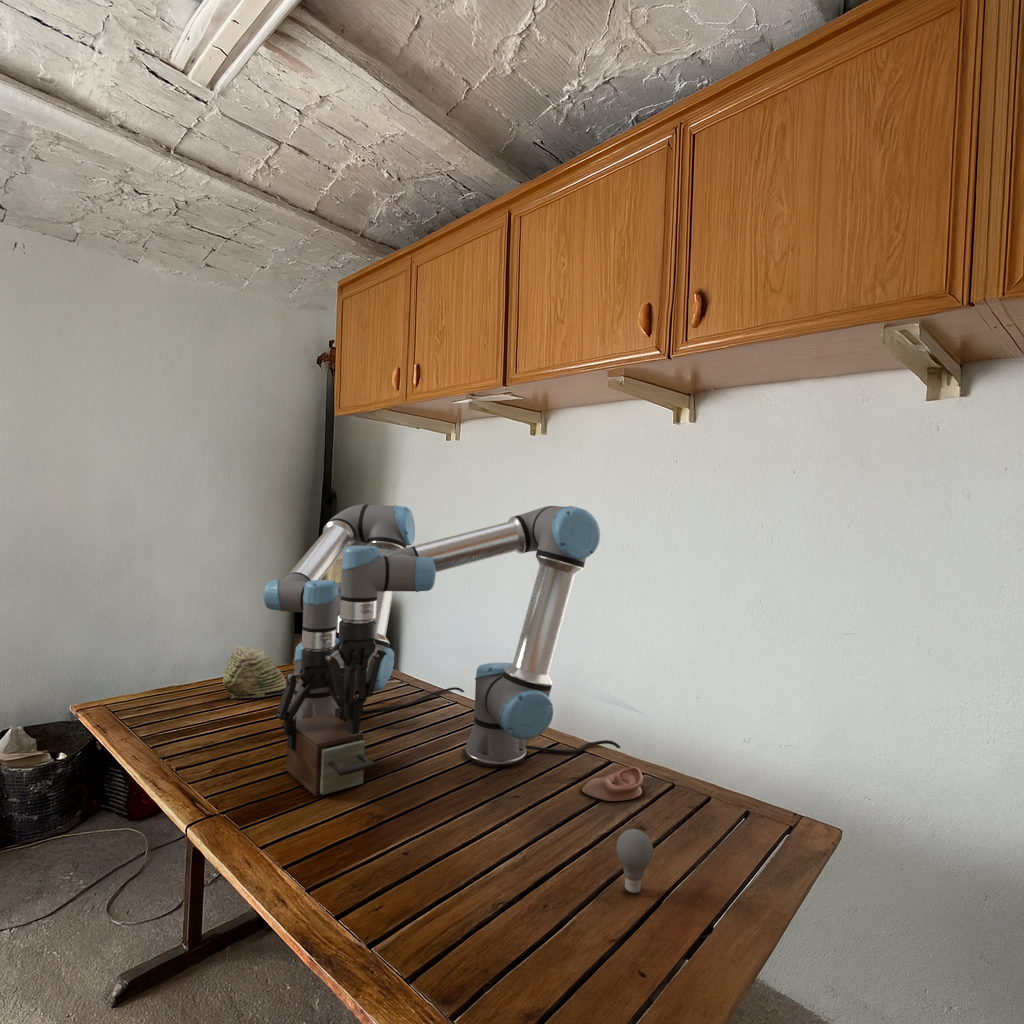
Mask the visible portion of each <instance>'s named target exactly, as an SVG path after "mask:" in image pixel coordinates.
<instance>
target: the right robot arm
mask: <svg viewBox="0 0 1024 1024" xmlns="http://www.w3.org/2000/svg"><path fill="white" fill-rule="evenodd" d="M600 542H601V529H600V526H599V523H598V521H597V520H596V518H595V516H594V515H593V514H592V513H590V511H588V510H586V509H583V508H581V507H577V506H572V505H568V506H559V505H548V506H543V507H539V508H536V509H533V510H531V511H527V512H525V513H521V514H517V515H514V516H510V517H509V519H508V521H505V522H502V523H499V524H494V525H490V526H487V527H483V528H479V529H475V530H471V531H466V532H463V533H459V534H455V535H451V536H447V537H442V538H438V539H435V540H432V541H431V540H430V541H427V542H423V543H419V544H416V545H413V546H412V545H411V546H406V548H403V549H399V550H396V549H392V550H387V551H385V552H383V553H382V554H381V555H380V553H379V548H378V547H374V546H366V545H352V546H348V547H346V548H345V549H344V550H343V552H342V562H341V566H340V569H341V570H340V571H341V573H340V575H341V576H340V582H341V598H340V615H339V616H338V617H339V619H340V621H339V622H338V639H339V643H338V645H337V648H336V651H335V652H334V653H333V654H332V655H327V656H326V657H325V660H326V661H327V663H328V664H329V666H330V671H331V676H332V682H333V687H334V692H335V697H336V698H337V699H338V700H340V701H342V702H344V717H346V723H347V727H346V731H348V732H349V733H351V734H352V735H353V734H358V733H359V731H360V719H361V718H360V717H361V716H363V715H364V713H363V710H364V705H365V703H366V702H367V700H368V698H370V697H373V696H374V695H373V694H374V692H375V691H374V687H375V684H376V680H377V676H378V672H379V668H380V664H381V661H382V659H383V658H384V656H385V654H386V652H385V651H383V650H381V649H379V648H377V647H376V643H375V640H374V638H375V634H376V622H375V621H374V620H373V619H375V618H376V610H377V594H378V591H382V592H385V591H393V592H415V593H419V592H429V591H431V590H432V589H433V588H434V586H435V584H436V583H435V582H436V574H437V573H441V572H443V571H446V570H447V571H448V570H451V569H455V568H458V567H461V566H466V565H470V564H473V563H477V562H481V561H484V560H489V559H493V558H495V557H499V556H503V555H507V554H510V553H514V552H516V553H517V554H520V555H523V554H526V553H530V552H536V553H535V559H536V560H537V562H538V564H539V566H538V570H537V572H536V573H537V574H536V577H535V581H534V585H533V588H532V592H531V596H530V599H529V603H528V607H527V611H526V614H525V618H524V621H523V625H522V628H521V631H520V635H519V640H518V643H517V647H516V650H515V653H514V654H515V655H514V658H513V662H489V663H488V662H487V663H483V664H480V665H479V666H477V668H476V672H475V678H474V680H475V685H474V686H475V689H474V693H475V694H474V714H473V716H474V717H473V720H474V721H473V726H472V728H471V731H470V734H469V736H468V739H467V742H466V745H465V757H466V759H468V760H469V761H470V762H471V763H473V764H476V765H480V766H482V767H487V768H508V767H513V766H516V765H519V764H520V763H523V762H524V761H525V759H526V758H527V750H533V751H540V752H547V753H554V754H565V755H567V754H568V755H569V754H577V753H580V752H582V751H583V750H585V749H586V748H588V747H592V746H597V745H598V746H599V745H606V744H607V745H611V746H614V747H615V748H616V749H621V748H622V746H621V745H619V744H618V743H617V742H616V741H613V740H608V739H604V740H596V741H591V742H587V743H584V744H583V745H582V746H580V747H578V748H575V749H557V748H548V747H541V746H535V745H528V744H526V743H525V742H526V741H527V740H532V739H535V738H537V737H538V736H540V735H542V734H543V733H545V731H546V730H547V729H548V728H549V727H550V725H551V723H552V720H553V717H554V705H553V703H552V700H551V698H550V694H551V690H552V686H553V681H552V679H551V677H550V675H549V674H550V673H549V672H550V669H551V665H552V662H553V657H554V653H555V650H556V647H557V642H558V639H559V635H560V631H561V628H562V624H563V620H564V617H565V613H566V609H567V606H568V603H569V598H570V595H571V592H572V591H571V590H572V587H573V583H574V578H575V576H576V574H578V573H579V572H581V571H583V570H584V568H585V564H586V560H587V558H589V557H590V556H591V555H592V554H594V553H595V552H596V551H597V549H598V547H599V544H600ZM371 655H372V657H371V660H370V663H369V667H368V659H369V658H370V656H371ZM339 657H341V659H342V660H343V661H344V669H345V671H344V685H343V679H342V674H341V669H340V665H339V662H340V659H339ZM367 668H368V671H367V675H366V669H367ZM355 670H356V674H355ZM354 686H355V689H354ZM525 740H526V741H525Z"/></svg>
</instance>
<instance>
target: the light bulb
mask: <svg viewBox="0 0 1024 1024" xmlns="http://www.w3.org/2000/svg"><path fill="white" fill-rule="evenodd" d="M615 849H616V854H617V857H618V859H619V861H620V863H621V865H622V867H623V873H624V874H623V875H624V876H625V878H624V888H625V890H627V891H628V892H630V893H634V894H635V893H639V892H640V891H641V889H642V887H641V886H642V879H643V877H644V875H645V871H646V868H647V867H648V866H649V864H650V863H651V861H652V859H653V855H654V847H653V843H652V841H651V838H649V836H648V835H647V834H646V833H645V832H643V831H642V830H641V829H636V828H629V829H627V830H625V831H623V832H622V833H621V834H620V835H619V837H618V839H617V841H616V847H615Z"/></svg>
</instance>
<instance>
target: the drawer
mask: <svg viewBox="0 0 1024 1024" xmlns="http://www.w3.org/2000/svg"><path fill="white" fill-rule="evenodd" d="M355 741H356V740H352V741H348V742H343V743H339V744H335V745H331V746H326V747H322V750H321V776H320V793H321V794H322V795H321V796H325V795H327V794H331V793H334V792H338V791H342V790H345V789H349V788H352V787H355V786H359V785H362V784H364V774H365V773H364V772H365V770H368V769H371V768H374V767H375V762H374V760H369V759H367V758H366V757H365V749H366V748H365V747H366V741H365V740H364V739H363V740H360V741H356V742H355Z"/></svg>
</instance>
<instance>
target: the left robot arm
mask: <svg viewBox="0 0 1024 1024" xmlns="http://www.w3.org/2000/svg"><path fill="white" fill-rule="evenodd" d="M415 538H416V524H415V519H414V515H413V512H412V510H411V509H410V508H409V507H407V506H401V505H397V504H394V505H383V504H367V503H365V504H364V503H360V504H355V505H352V506H349V507H347V508H345V509H343V510H341V511H340V512H338V513H337V514H335V515H334V516H332V518H330V519H329V521H327V523H326V524H325V525H324V526H323V529H322V534H321V535H320V536H319V537H318V539H317V540H316V541H315V542H314V543H313V545H311V547H310V548H309V549H308V550H307V552H306V553H305V554H304V555H303V557H302V558H301V559H300V560H299V561H298V562H297V563H296V565H295V566H294V567H293V568H292V570H290V572H289V573H288V574H287V575H286V576H285V578H284V579H273V580H270V581H268V582H267V584H266V585H265V587H264V590H263V602H264V606H265V607H266V608H267V609H268V610H272V611H280V612H289V613H302V633H301V642H299V643H298V644H297V645H296V647H295V652H294V653H295V654H294V659H293V661H294V672H293V673H291V672H289V673H287V674H286V687H285V690H284V692H283V693H282V695H281V699H280V702H279V704H278V707H277V710H276V713H275V717H276V718H277V719H279V720H280V721H283V732H284V734H285V735H286V736H287V739H288V740H286V741H287V743H286V748H287V747H289V748H290V749H291V750H295V741H296V720H301V719H306V718H311V717H316V716H321V715H326V714H331V713H332V714H333V715H335V716H336V717H338V718H339V719H341V720H343V721H344V722H346V723H347V718H346V717H344V702H342V701H340V700H338V699H337V698H336V697H335V692H334V687H333V682H332V676H331V671H330V666H329V664H328V663H327V661H326V660H325V657H326V656H327V655H332V654H333V653H334V652H335V651H336V648H337V645H338V643H339V637H337V621H338V620H337V619H338V617H339V615H340V598H341V581H340V582H337V581H335V580H331V579H324V577H325V575H326V574H327V573H328V571H329V570H330V569H331V568H332V567H333V565H334V564H335V562H336V561H337V560H338V558H339V557H340V556H341V554H343V551H344V549H345V548H346V547H348V546H353V545H354V544H358V543H364V544H366V545H365V546H374V547H378V548H379V553H380V555H381V554H382V553H383V552H385V551H387V550H392V549H396V550H399V549H403V548H407V547H411V546H412V545H413V544H414V542H415ZM393 595H394V591H385V592H382V591H378V594H377V610H376V618H375V619H373V620H374V621H375V622H376V634H375V638H374V640H375V643H376V647H377V648H379V649H381V650H383V651H385V652H386V654H385V656H384V658H383V659H382V661H381V664H380V668H379V672H378V676H377V680H376V684H375V687H374V691H373V692H377V691H378V692H379V691H381V690H382V689H384V688H385V686H386V685H387V684H388V682H389V681H390V678H391V677H392V676H391V675H392V673H393V670H394V666H395V665H394V664H395V652H394V650H393V649H392V648H391V647H390V645H391V643H390V641H389V639H388V638H387V637H386V636H387V629H388V624H389V619H390V613H391V608H392V607H391V606H392V603H393V602H392V601H393ZM371 657H372V655H371V656H370V658H369V659H368V667H369V663H370V660H371ZM339 659H340V662H339V665H340V669H341V674H342V679H343V685H344V671H345V669H344V661H343V660H342V659H341V657H339ZM367 671H368V668H367V669H366V675H367ZM355 674H356V670H355ZM354 690H355V686H354ZM449 691H459V692H461V693H465V690H464V689H462V688H460V687H457V686H456V687H455V686H453V687H448V688H445V689H440V690H436V691H433V692H431V693H429V694H426V695H424V696H421V697H419V698H416V699H415V700H412V701H409V702H406V703H402V704H397V705H390V706H383V707H382V706H381V707H377V708H376V707H375V708H369V709H363V714H365V713H372V712H373V713H374V712H379V711H386V710H393V709H400V708H403V707H408V706H411V705H414V704H417V703H418V702H422V701H423V700H425V699H428V698H430V697H432V696H434V695H438V694H442V693H446V692H449Z"/></svg>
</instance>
